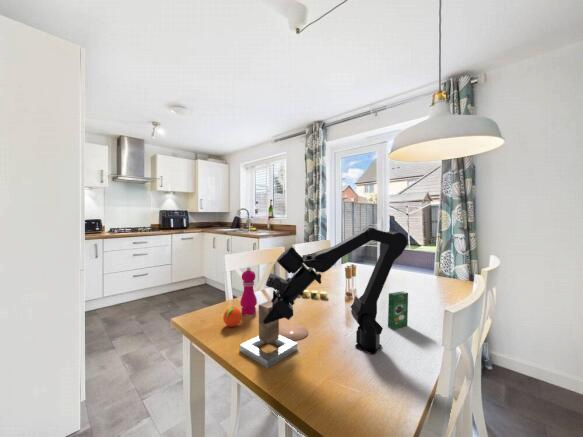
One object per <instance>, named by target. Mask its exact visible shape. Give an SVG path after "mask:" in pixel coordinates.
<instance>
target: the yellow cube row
mask: <svg viewBox="0 0 583 437" xmlns="http://www.w3.org/2000/svg"><path fill="white" fill-rule="evenodd" d="M310 291H311V292H310ZM303 293H304V294H303V295H302V296H301V298H307V297H310V299H318V297H319V299H320V300H327V298H328V291H320V292H319V291H318V290H309V289H305V291H304V292H303Z"/></svg>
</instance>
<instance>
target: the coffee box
mask: <svg viewBox="0 0 583 437" xmlns="http://www.w3.org/2000/svg"><path fill="white" fill-rule="evenodd" d="M408 306H409V293H408V292H407V291H395V292H389V293H388V306H387V308H388V313H387V327H388V328H389V329H391V330H396V329H399V328H402V327H403V328H404V327H407V326H408V313H409V312H408V311H409V307H408Z"/></svg>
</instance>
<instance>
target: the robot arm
mask: <svg viewBox="0 0 583 437" xmlns="http://www.w3.org/2000/svg"><path fill="white" fill-rule="evenodd" d="M372 241H374V242H377V243H379V256H378V259H377V261H376V263H375V266H374V267H373V270H372V272H371V275H370V277H369V280H368V282H367V283H366V284H367V285H366V286H365V290H364V291H363V294H362V295H361V296H360V297H358V296H355V297H354V298H353V302H352V304H351V305H350V308H351V310H350V313H351V316H352V317H353V319H354V321H356V323H357V324H358V326H357V330H356V336H355V337H356V339H355V342H356V344H355V346H354V348H356V349H359V350H361V351H364V352H367V353H369V354H372V355H376V353H377V352H378V351H379V350H380V349H382V344H381V343H380V342H381V341H380V340H381V339H380V338H381V336H380V335H381V334H382V332H383V329H384V328H383V326H382V325H381V324H380V323H379V322H378V321H377V320H376V319H377V314H378V300H379V298H380V295H381V293H382V291H383V288H384V286H385V283H386V281H387V279H388V276H389V274H390V271H391V270H392V266H393V265H394V262H395V261H396V260H397V259H398V258H399V257H400V256H401V255H402V254H403V252H404V251H405V249H406V248H407V247H408V239H407V237H406V235H405V234H404V233H401V232H398V231H383V230H379V229H376V228H374V227H370V226H367V227H364V228H363V229H362V230H360V231H359V232H356V233H354V234H353V235H351V236H350V237H348V238H346V239H344V240H342V241H339V243H337V244H335V245H334V246H331V247H327V248H323V249H320V250H317V251H315V252H313V253H312V254H310V255H305V256H304V255H303V256H301V255H300V254H299V253H298V251H296V249H295V248H294V246H290V247H288V249H287V250H285V251H284V252H282V253H281V254H280V256H278V258H277V259H276V263H278V265H279V266H281V267H282V269H284V271H286V273H288V274H294V275H292V276H291V277H287V278H286V279H284V278H282V277H281V276H278V275H277V274H274V273H269V275H268V277H267V280H266V283H265V285H266V287H268V288H271V289H274V290H272V299H271V300H270V302H272V309H271V310H270V312H269V313H268V315H267V316H266V317H265V319H264V320H263V323H264V324H267V323H270V322H273V321H276V320H279V321H280V320H282V319H286V320H288V321H289V320H291V318H292V317H293V316H294V306H293V305H295V301H296V300H297V299H298V298H299V297H300V296H301V297H302V295H303V294H304V293H303V292H304V291H305V290H307V289H308V288H309V286H310V285H311V284H313V282H314V281H316V282H317V283H318V284H319V285H321V284H322V274H323V273H326V272H327V271H328V270H330V269H331V268H333V267H334V266H335V264H336V263H337V262H338V261H339V260H340V259H341V258H343V257H345V256H347V255H348V254H350V253H351V252H354V251H355V250H357V249H358V248H360V247H362V246H364V245H367V243H370V242H372ZM317 272H318V273H317ZM321 273H322V274H321Z"/></svg>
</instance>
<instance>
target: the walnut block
mask: <svg viewBox="0 0 583 437" xmlns="http://www.w3.org/2000/svg"><path fill="white" fill-rule="evenodd" d="M271 309H272V302H271V300H268V301H265V302H263V303H260V304H258V336H259V339H260V340H262V341H264V342H266V343H265V344H268V345H269V344H272V342H273V341H275V340H277V339H279V329H280V319H279V320H276V321H273V322H270V323H267V324H264V323H263V320H264V319H265V317H266V316H267V315H268V313H269V312H270V310H271Z"/></svg>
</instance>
